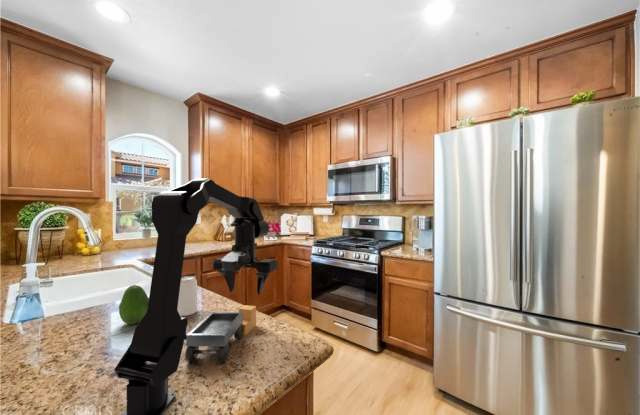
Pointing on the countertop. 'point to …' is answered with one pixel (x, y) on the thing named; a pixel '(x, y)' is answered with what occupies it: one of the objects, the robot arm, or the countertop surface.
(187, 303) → the can
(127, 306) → the avocado
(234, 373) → the countertop surface
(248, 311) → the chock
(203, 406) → the countertop surface
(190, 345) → the tray
